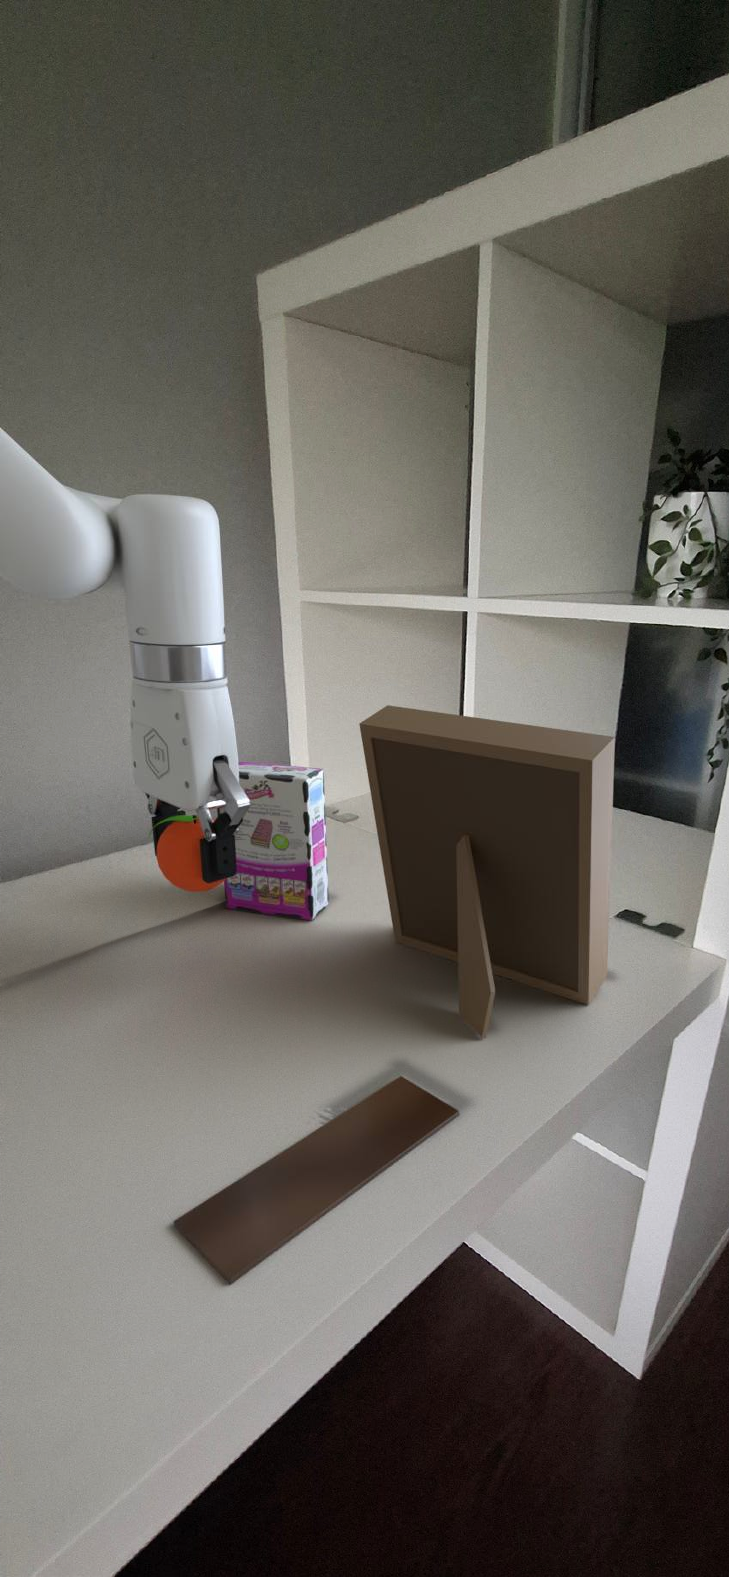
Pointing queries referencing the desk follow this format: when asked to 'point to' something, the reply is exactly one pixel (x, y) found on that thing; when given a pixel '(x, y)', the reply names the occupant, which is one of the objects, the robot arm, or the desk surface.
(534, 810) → the photo frame
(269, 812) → the candy bar box
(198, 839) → the clementine
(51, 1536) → the desk surface
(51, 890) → the desk surface
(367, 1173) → the edge strip
